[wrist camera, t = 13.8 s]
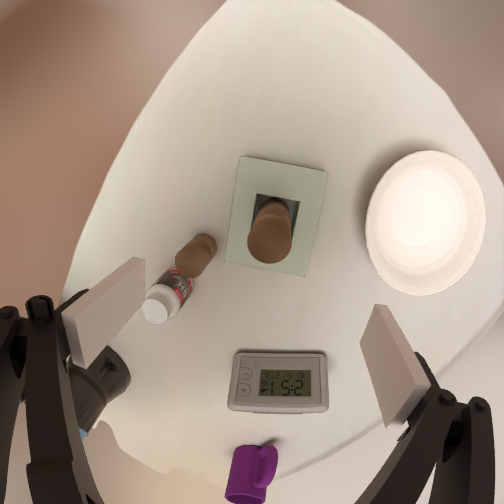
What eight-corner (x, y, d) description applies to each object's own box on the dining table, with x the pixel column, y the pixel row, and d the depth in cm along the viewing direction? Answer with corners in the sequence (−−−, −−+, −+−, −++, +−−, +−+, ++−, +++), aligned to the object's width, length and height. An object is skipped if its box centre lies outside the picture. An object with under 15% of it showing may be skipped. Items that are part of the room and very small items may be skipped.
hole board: (229, 251, 42) (224, 261, 39) (244, 156, 38) (240, 156, 34) (303, 266, 42) (304, 276, 38) (324, 171, 37) (328, 172, 33)
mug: (227, 452, 60) (217, 498, 46) (260, 429, 55) (252, 483, 41) (257, 463, 61) (251, 508, 47) (292, 441, 56) (290, 493, 42)
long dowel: (258, 223, 40) (243, 259, 26) (263, 195, 39) (250, 216, 25) (286, 228, 40) (286, 267, 26) (291, 200, 39) (296, 225, 25)
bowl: (477, 181, 34) (500, 187, 28) (435, 290, 41) (452, 308, 35) (378, 128, 34) (394, 124, 28) (334, 257, 41) (342, 274, 35)
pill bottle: (200, 281, 44) (179, 312, 35) (183, 303, 46) (161, 336, 37) (172, 260, 44) (146, 286, 35) (157, 283, 46) (130, 312, 36)
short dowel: (190, 256, 43) (173, 274, 37) (192, 231, 42) (175, 245, 35) (215, 261, 43) (202, 280, 36) (218, 236, 42) (205, 251, 35)
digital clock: (330, 351, 46) (338, 394, 36) (315, 386, 49) (319, 429, 39) (238, 335, 47) (226, 378, 37) (231, 372, 50) (220, 414, 40)
